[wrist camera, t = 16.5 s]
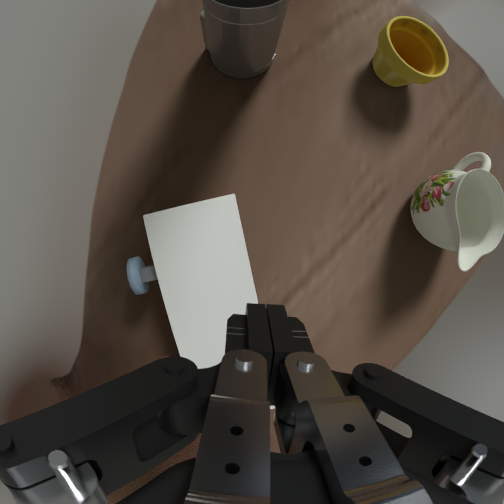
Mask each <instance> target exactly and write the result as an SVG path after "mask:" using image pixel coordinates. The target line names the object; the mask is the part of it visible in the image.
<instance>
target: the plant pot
mask: <svg viewBox="0 0 504 504" xmlns="http://www.w3.org/2000/svg"><path fill="white" fill-rule="evenodd" d="M448 63H449V60H448V54H447V51H446V48H445V46H444V44H443V42H442V41H441V39H440V38H439V36H438V35H437V34H436V33H435V32H434V31H433V30H432V29H431V28H430V27H429V26H427V25H426V24H425V23H423V22H421V21H419V20H417V19H415V18H412V17H408V16H398V17H395V18H393V19H391V20H390V21H389V22H388V23H387V24H386V25H385V26H384V28H383V29H382V30H381V32H380V34H379V37H378V47H377V50H376V52H375V54H374V57H373V60H372V65H373V69H374V71H375V73H376V75H377V76H378V77H379V78H380V79H381V80H382V81H383V82H384V83H386V84H388V85H390V86H394V87H400V86H403V85H407V84H412V83H416V84H426V83H429V82H432V81H434V80H436V79H437V78H439V77H441V76H442V75H444V74H445V72H446V71H447V68H448Z"/></svg>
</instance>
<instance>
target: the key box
mask: <svg viewBox="0 0 504 504" xmlns="http://www.w3.org/2000/svg"><path fill="white" fill-rule="evenodd" d="M143 218H144V223H145V228H146V232H147V237H148V241H149V245H150V250H151V254H152V258H153V262H154V266H155V270H156V274H157V278H158V282H159V286H160V289H161V293H162V297H163V300H164V304H165V307H166V311H167V314H168V318H169V321H170V325H171V328H172V331H173V335H174V338H175V341H176V344H177V347H178V351H179V354H180V357H184V358H187V359H189V360H191V361H193V362H194V363H195V364H196V366H197V368H198V369H202V368H209V367H212V366H215V365H217V364H219V363H220V362H221V361H222V358H223V356H224V355H225V344H226V331H227V319H228V318H229V317H230V316H231V315H232V314H243V315H245V313H246V304H247V303H255V304H258V300H257V296H256V291H255V286H254V282H253V277H252V272H251V268H250V263H249V259H248V254H247V249H246V245H245V240H244V235H243V231H242V226H241V221H240V217H239V212H238V207H237V202H236V198H235V194H231V195H226V196H222V197H217V198H213V199H208V200H204V201H199V202H195V203H191V204H187V205H182V206H178V207H174V208H170V209H166V210H162V211H158V212H154V213H150V214H146V215H143ZM273 408H275V406H270V409H273Z"/></svg>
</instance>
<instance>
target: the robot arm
mask: <svg viewBox="0 0 504 504" xmlns="http://www.w3.org/2000/svg"><path fill="white" fill-rule="evenodd" d="M202 3H203V10H202V11H201V12H200V20H201V26H202V31H203V37H204V43H205V48H206V49H207V50H208V51H209V52H210V55H211V60H212V62H213V65H214V66H215V67H216V68H217V69H218V70H219V71H220V72H221V73H223V74H225V75H227V76H230V77H233V78H241V79H242V78H251V77H255V76H257V75H260V74H262V73H263V72H265V71H266V70H267V69H268V68H269V67H270V65H271V64H272V62H273V59H274V56H275V52H276V48H277V45H278V41H279V37H280V33H281V30H282V26H283V22H284V19H285V15H286V11H287V8H288V4H289V0H202ZM270 406H275V415H274V421H273V422H274V427H275V431H276V435H277V439H278V443H279V448H280V452H281V454H279V453H274V452H270ZM381 410H382V411H384V412H386V413H387V414H389V415H391V416H393V417H395V418H396V419H398V420H400V421H402V422H404V423H406V424H408V425H409V426H410V427H411V429H412V437H411V438H407V437H404V436H402V435H400V434H399V433H397V432H395V431H393V430H391V429H389V428H388V427H386V426H384V425H382V424H380V423H379V422H377V421H376V420H377V418H378V416H379V414H380V412H381ZM156 414H157V415H156ZM149 418H150V419H149ZM199 433H202V435H201V440H200V444H199V448H198V453H197V457H196V458H192V459H189V460H186V461H183V462H181V463H178V464H176V465H174V466H172V467H170V468H169V469H167V470H165V471H164V472H163V473H161V474H160V475H158V476H157V477H155V478H154V479H153V480H151V481H150V482H148V483H147V484H145V485H144V486H142V487H141V488H140V489H138V490H137V491H135V492H134V493H132V494H130V495H129V496H127V497H126V498H124V499H123V500H121V501H120V502H118V503H116V504H502V502H503V499H504V422H502V421H500V420H497V419H495V418H492V417H490V416H488V415H486V414H483V413H481V412H479V411H476V410H474V409H472V408H470V407H467V406H465V405H463V404H461V403H459V402H456V401H454V400H452V399H450V398H448V397H445V396H443V395H441V394H439V393H437V392H435V391H433V390H430V389H428V388H426V387H424V386H422V385H420V384H418V383H415V382H413V381H411V380H409V379H407V378H405V377H403V376H401V375H399V374H397V373H395V372H393V371H391V370H389V369H387V368H385V367H383V366H380V365H377V364H372V363H363V364H359V365H357V366H356V367H355V368H354V369H353V372H352V374H347V373H341V372H336V371H333V370H331V369H330V367H329V365H328V364H327V362H326V360H325V359H324V358H322V357H321V356H319V355H317V354H315V353H314V350H313V348H312V345H311V342H310V340H309V338H308V334H307V332H306V329H305V327H304V324H303V323H302V322H301V321H300V320H299V319H297V318H296V317H287V314H286V310H285V307H284V305H272V304H266V305H265V304H255V303H247V304H246V313H245V315H243V314H232V315H231V316H230V317H229V318H228V319H227V331H226V344H225V355H224V356H223V358H222V361H221V362H220V363H219V364H217V365H215V366H212V367H209V368H202V369H198V368H197V366H196V364H195V363H194V362H193V361H191V360H189V359H187V358H184V357H179V356H168V357H163V358H160V359H158V360H156V361H154V362H152V363H149V364H147V365H145V366H143V367H141V368H139V369H136V370H134V371H132V372H130V373H128V374H125V375H123V376H121V377H119V378H117V379H114V380H112V381H110V382H107V383H105V384H103V385H101V386H98V387H96V388H94V389H91V390H89V391H87V392H84V393H82V394H80V395H77V396H75V397H72V398H70V399H68V400H65V401H63V402H60V403H58V404H55V405H53V406H50V407H48V408H45V409H43V410H40V411H38V412H35V413H32V414H30V415H27V416H25V417H22V418H19V419H17V420H14V421H11V422H8V423H6V424H3V425H0V482H1V483H2V484H3V485H4V486H5V488H6V489H7V490H8V491H9V492H10V494H11V495H12V496H13V498H14V500H15V502H16V504H107V495H109V494H110V493H112V492H114V491H116V490H117V489H119V488H121V487H123V486H124V485H126V484H128V483H130V482H131V481H133V480H135V479H136V478H138V477H140V476H141V475H143V474H144V473H146V472H148V471H149V470H151V469H152V468H154V467H156V466H157V465H159V464H160V463H162V462H163V461H165V460H166V459H168V458H169V457H171V456H172V455H174V454H175V453H177V452H178V451H180V450H181V449H183V448H184V447H186V446H187V445H188V444H190V443H191V442H193V441H194V440H195V439H196V438H197V436H198V434H199Z"/></svg>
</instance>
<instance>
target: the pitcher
mask: <svg viewBox="0 0 504 504" xmlns="http://www.w3.org/2000/svg"><path fill="white" fill-rule="evenodd" d="M476 161H482V166H481V168H480V169H474V170H471V171H469V172H463V170H464V169H465V168H466V167H467V166H468V165H469V164H471V163H473V162H476ZM490 168H491V160H490V158H489V157H488V155H486V154H485V153H482V152H475V153H471V154H469V155H467V156H465V157H464V158H462V159H461V160H460V161H459V162H458V163H457V164H456V165H455V167H454V168H453V169H452V170H448V171H443V172H439V173H436V174H434V175H432V176H430V177H429V178H427V179H426V180H425V181H424V182H422V183H421V184H420V185H419V187H418V188H417V189H416V191H415V193H414V195H413V197H412V201H411V217H412V220H413V223H414V225H415V227H416V229H417V230H418V232H419V233H420V234H421V235H422V236H423V237H424V238H425V239H426V240H428V241H429V242H431V243H432V244H434V245H436V246H438V247H440V248H443V249H446V250H451V251H458V253H457V261H458V266H459V268H460V270H462V271H464V272H465V271H468V270H469V269H470V268H472V266H473V265H474V264H475V263H476V262H477V261H478V259H479V258H480V257H481V256H483V255H485V254H487V253H490V252H491V251H493V250H494V249H495V248H496V246H497V245H498V244H499V242H500V240H501V238H502V236H503V233H504V193H503V190H502V188H501V186H500V184H499V182H498V181H497V179H496V178H495V177H494V176H493V175H492V174H491V173H490V172H489V171H490Z"/></svg>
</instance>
